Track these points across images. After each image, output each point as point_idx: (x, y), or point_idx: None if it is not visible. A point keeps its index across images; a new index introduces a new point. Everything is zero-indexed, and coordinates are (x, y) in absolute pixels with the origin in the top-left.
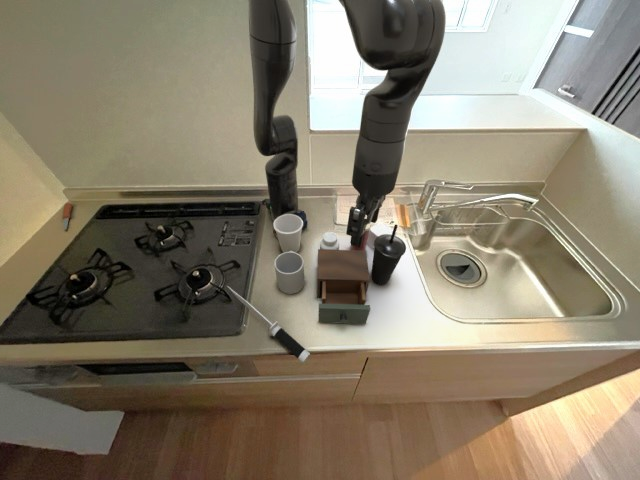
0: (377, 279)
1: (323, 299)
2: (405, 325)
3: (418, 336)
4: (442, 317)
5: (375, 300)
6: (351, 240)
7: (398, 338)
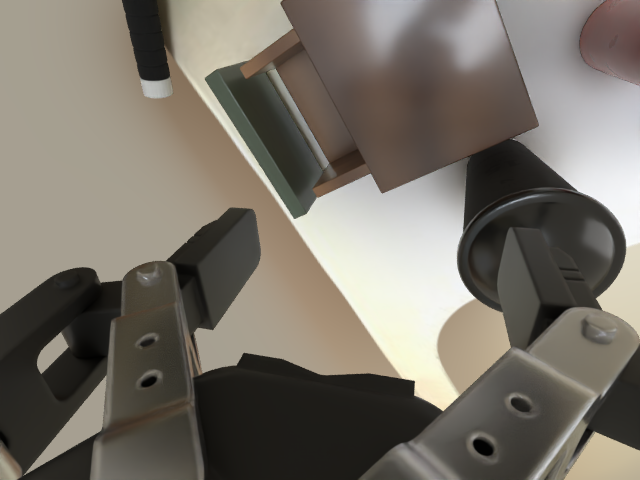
0: (466, 177)
1: (243, 72)
2: (371, 262)
3: (360, 288)
4: (433, 326)
5: None
6: (189, 240)
7: (332, 254)
